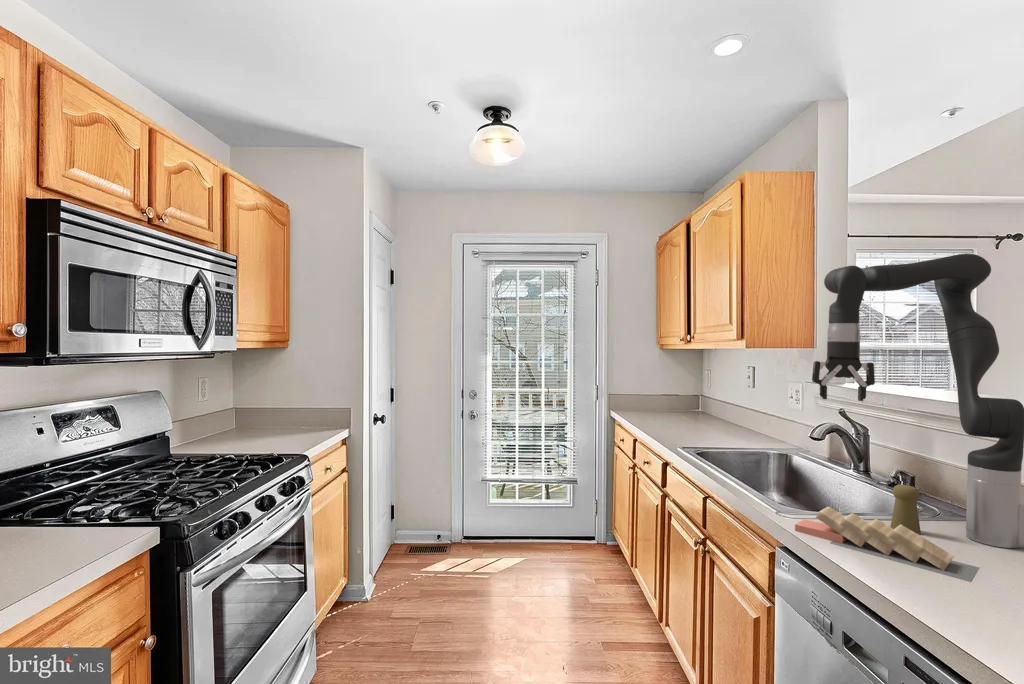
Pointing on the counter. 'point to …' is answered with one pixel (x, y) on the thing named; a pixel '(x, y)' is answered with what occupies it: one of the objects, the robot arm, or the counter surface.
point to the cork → (906, 508)
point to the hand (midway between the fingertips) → (842, 399)
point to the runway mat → (952, 569)
